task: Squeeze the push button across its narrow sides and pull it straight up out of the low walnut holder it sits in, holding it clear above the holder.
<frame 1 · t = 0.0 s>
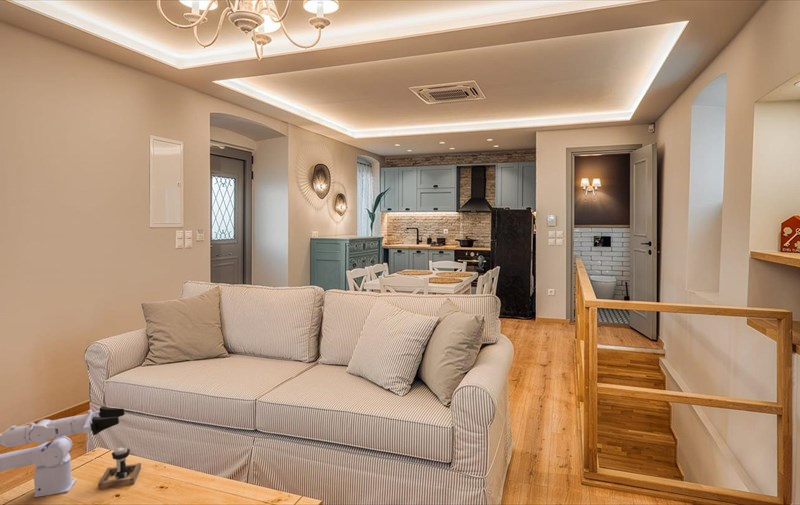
hand: (121, 415, 160), 22 cm above the table, tool horizontal, fingers open, 7 cm apart
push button: (120, 479, 161), on the table
walnut holder: (120, 478, 161), on the table
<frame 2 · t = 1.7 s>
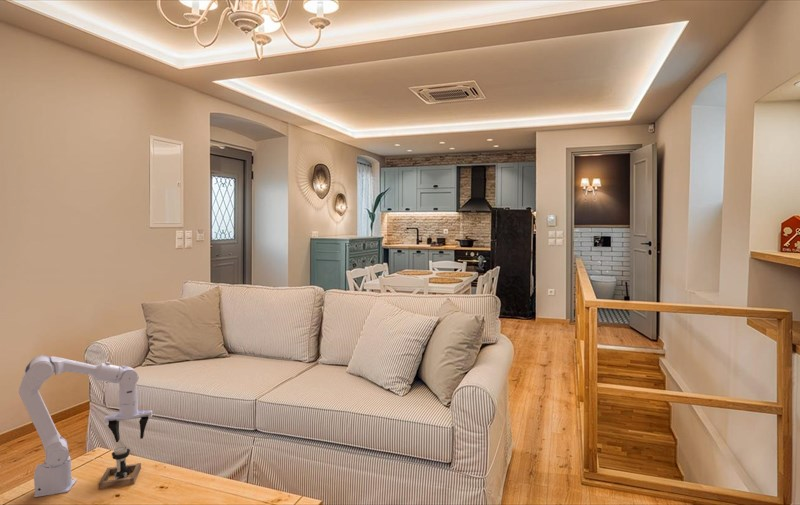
hand: (130, 439, 167), 10 cm above the table, tool pointing down, fingers open, 7 cm apart
nothing on the table moved.
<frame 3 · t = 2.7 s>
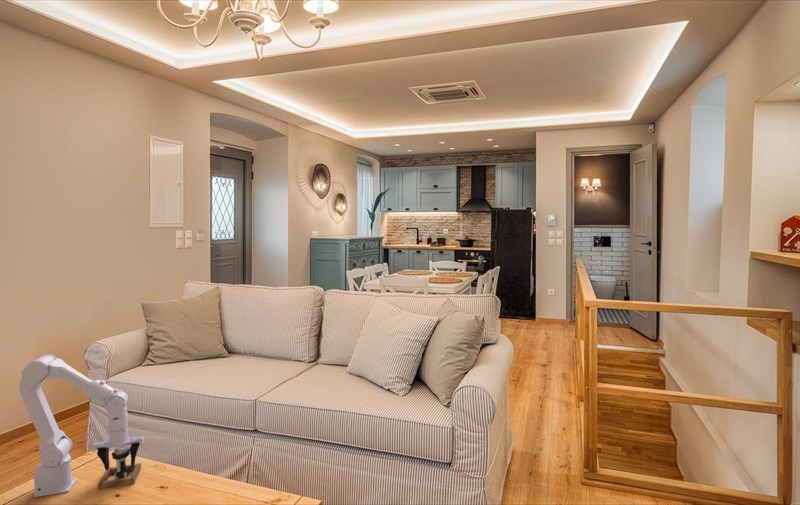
hand: (120, 466, 160), 4 cm above the table, tool pointing down, fingers open, 7 cm apart
nothing on the table moved.
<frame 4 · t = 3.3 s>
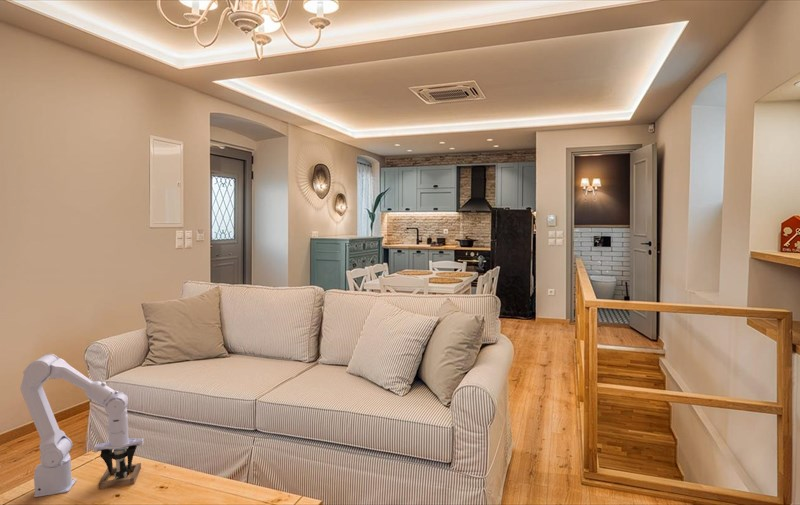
hand: (120, 468, 160), 3 cm above the table, tool pointing down, fingers closed on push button, 5 cm apart
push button: (120, 479, 161), on the table, touching gripper
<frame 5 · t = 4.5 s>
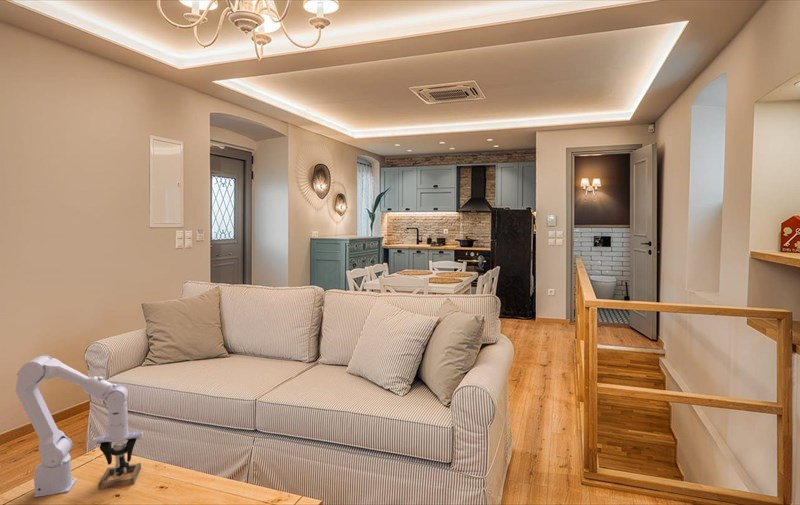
hand: (119, 461, 160), 6 cm above the table, tool pointing down, fingers closed on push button, 5 cm apart
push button: (120, 474, 161), point 1 cm above the table, touching gripper
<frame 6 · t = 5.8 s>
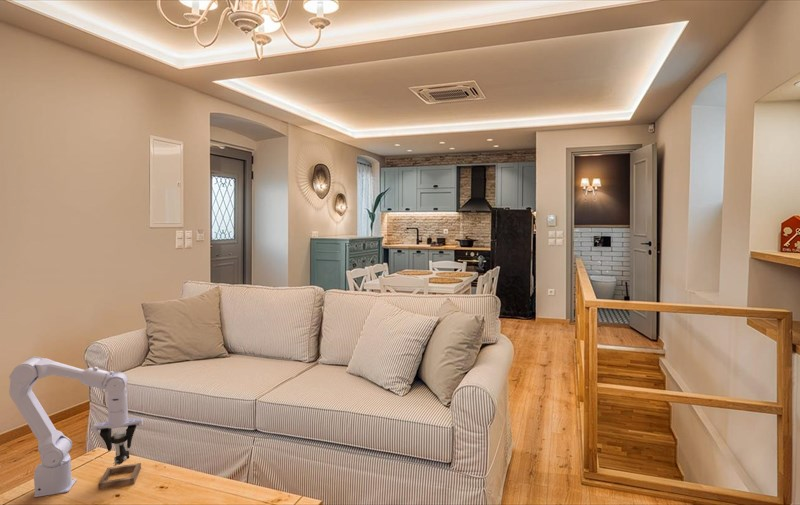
hand: (119, 448, 161), 10 cm above the table, tool pointing down, fingers closed on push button, 5 cm apart
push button: (120, 462, 161), point 5 cm above the table, touching gripper
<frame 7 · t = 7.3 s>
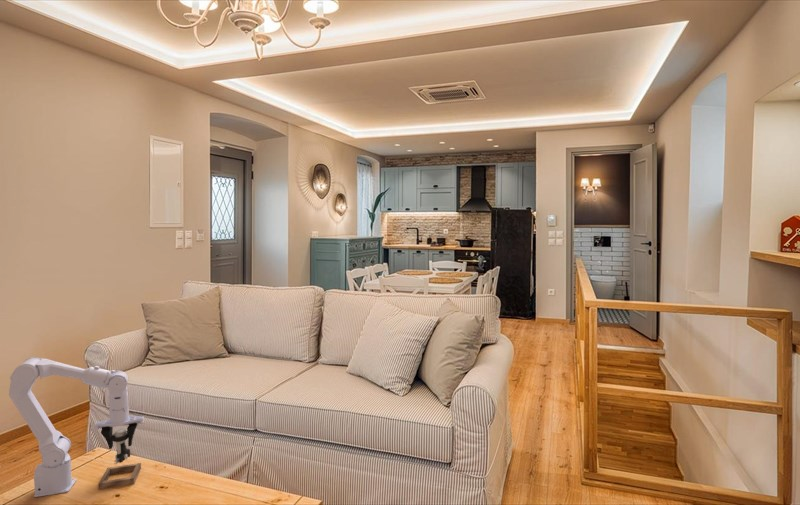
hand: (120, 446, 162), 10 cm above the table, tool pointing down, fingers closed on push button, 5 cm apart
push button: (121, 461, 162), point 5 cm above the table, touching gripper
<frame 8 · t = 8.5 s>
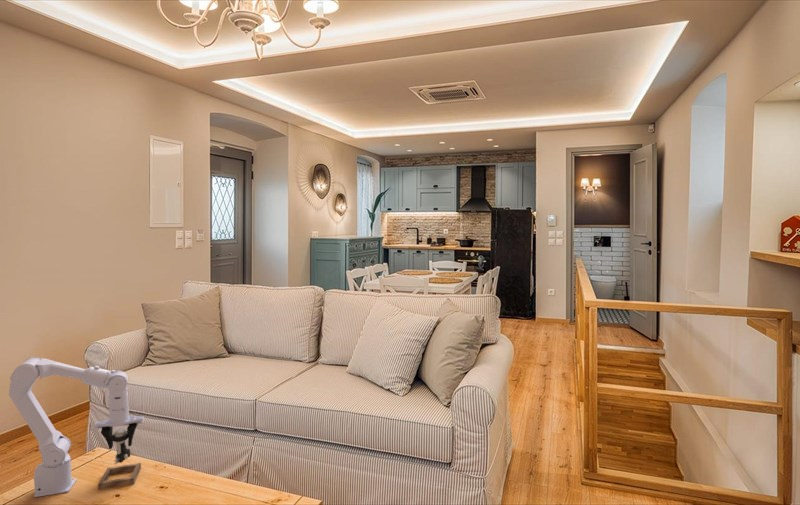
hand: (120, 446, 162), 10 cm above the table, tool pointing down, fingers closed on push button, 5 cm apart
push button: (121, 461, 162), point 5 cm above the table, touching gripper
at the end: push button point 5.1 cm above the table; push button inside the target area on the walnut holder (1.2 cm from its centre), point 5.1 cm above the walnut holder's base; the gripper is holding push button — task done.
